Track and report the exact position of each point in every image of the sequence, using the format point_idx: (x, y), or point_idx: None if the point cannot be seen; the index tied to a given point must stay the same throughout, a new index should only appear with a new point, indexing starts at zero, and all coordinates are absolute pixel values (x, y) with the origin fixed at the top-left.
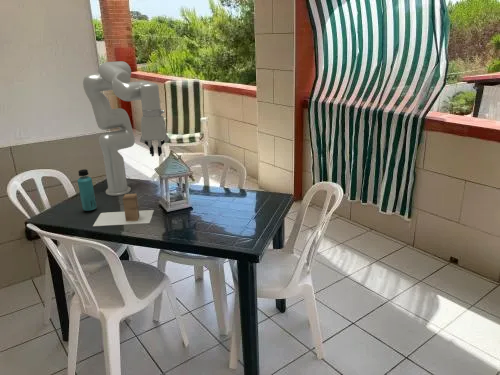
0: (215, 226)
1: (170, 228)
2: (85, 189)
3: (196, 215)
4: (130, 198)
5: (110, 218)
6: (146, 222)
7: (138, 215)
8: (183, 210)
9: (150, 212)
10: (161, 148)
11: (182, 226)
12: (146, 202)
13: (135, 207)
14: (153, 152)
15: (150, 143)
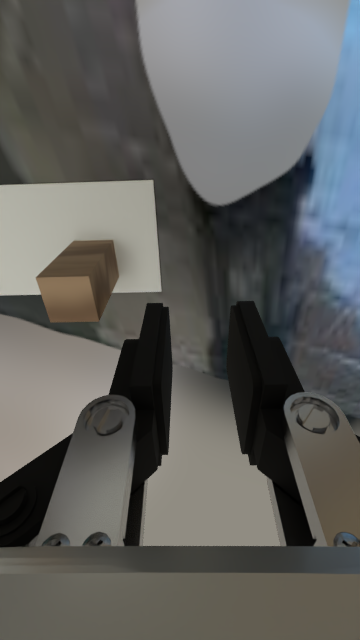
0: (352, 323)
1: (226, 322)
2: None
3: (315, 243)
4: (82, 320)
5: (15, 245)
6: (150, 287)
7: (113, 258)
8: (273, 189)
9: (144, 205)
10: (294, 382)
11: (260, 315)
12: (89, 51)
13: (107, 300)
14: (169, 363)
15: (134, 537)
